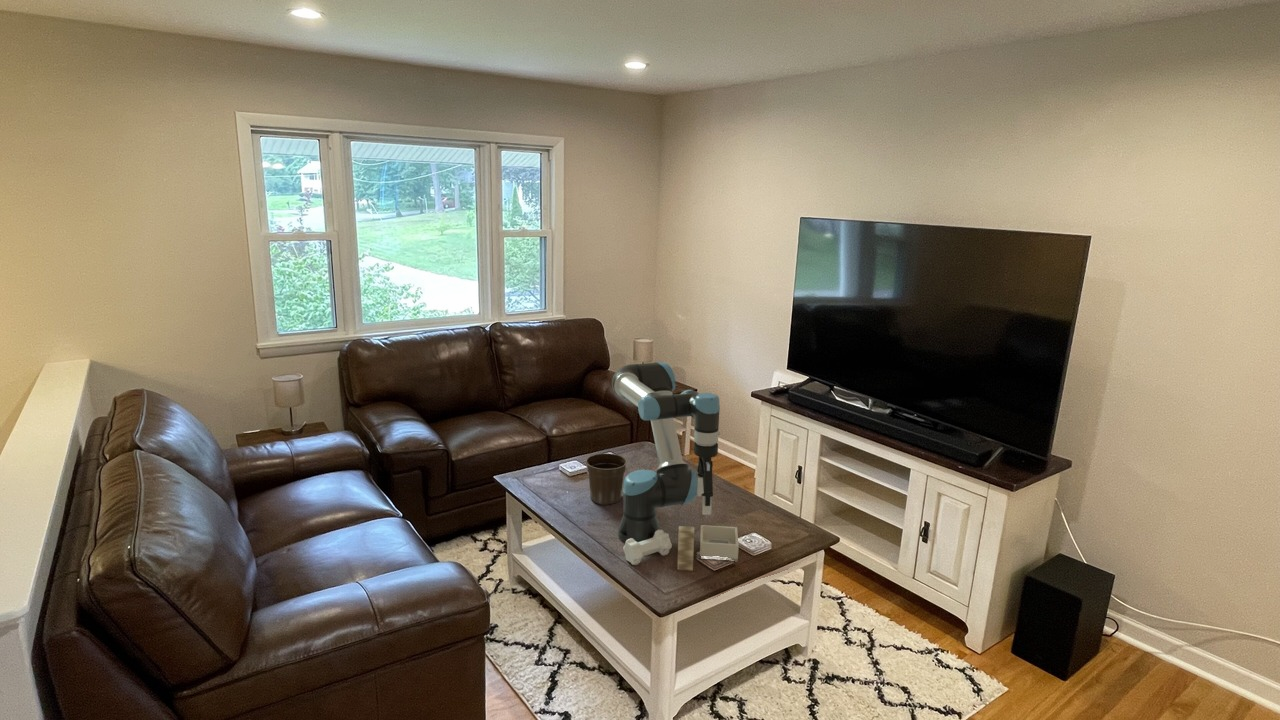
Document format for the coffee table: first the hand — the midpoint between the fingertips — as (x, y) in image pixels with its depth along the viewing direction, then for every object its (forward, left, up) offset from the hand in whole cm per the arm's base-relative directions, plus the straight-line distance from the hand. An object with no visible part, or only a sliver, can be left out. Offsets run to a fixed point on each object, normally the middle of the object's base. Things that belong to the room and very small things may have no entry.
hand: (704, 504), depth 216 cm
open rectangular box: (+6, +9, -22) cm, 24 cm away
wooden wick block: (-5, -3, -22) cm, 22 cm away
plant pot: (-38, +44, -22) cm, 63 cm away
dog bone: (-18, +2, -22) cm, 29 cm away
